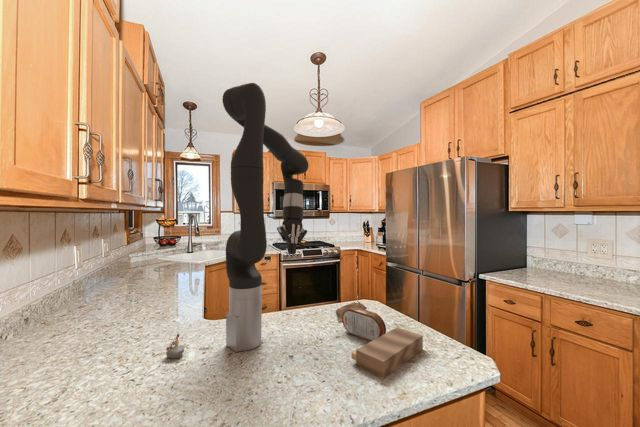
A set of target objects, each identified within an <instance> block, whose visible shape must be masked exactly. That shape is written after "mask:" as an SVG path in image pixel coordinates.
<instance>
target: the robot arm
mask: <svg viewBox="0 0 640 427" xmlns="http://www.w3.org/2000/svg"><path fill="white" fill-rule="evenodd" d="M266 101H267V100H266V96H265V93H264V90H263V89H262V87H261V85H260V84H258V83H256V82H248V83H244V84H240V85H237V86H233V87H230V88H228V89H226V90H225V91H224V92H223V94H222V106H223V108H224V110H225V112H226V113H227V114H228V116H229V117H230V118H231V119H232V120H233V121H235V122H236V124H239V126H241V127H242V128H243V132H242V134H241V138H240V139H239V140H240V141H239V142H238V145H237V146H236V148H235V151H234V153H233V154H232V155H233V156H232V157H231V161H230V185H231V190H232V193H233V197H234V198H235V201H236V205H237V208H238V210H239V211H238V212H239V216H240V230H235V231H233V232H232V233H231V234H230V235H229V236H228V238H227V240H226V245H225V270H226V271H225V272H226V277H227V278H228V290H229V291H228V293H229V294H228V296H229V297H228V303H229V304H228V310H229V311H227V312H226V314H225V321H226V322H225V326H226V327H225V328H226V330H225V334H226V335H225V336H226V337H225V345H226V346H227V347H228V348H229V349H231V350H232V351H234V352H235V353H238V352H242V351H243V352H244V351H250V350H254V349H256V348H258V347H259V346H260V345H261V344H262V336H263V334H262V323H263V322H262V315H263V314H262V304H263V302H262V300H263V299H262V296H263V295H262V293H263V292H262V290H263V289H262V288H263V287H262V285H263V284H262V283H263V282H262V281H263V280H262V275H261V273H260V272H259V270H257V267H256V264H258V263H259V262H260V261H262V260H263V259H264V257H265V255H266V254H267V253H266V252H267V246H268V245H267V243H268V242H267V232H266V223H265V212H264V210H265V209H264V207H265V206H264V146H265V147H266V149H267V150H268V151H269V152H270V154H272V156H274V158H276V160H278V162H280V171H281V174H282V180H283V184H284V187H283V188H284V191H283V192H284V194H283V200H282V203H283V204H282V219H283V221H282V224H281V225H280V226H278V227H277V228H276V231H277V232H278V234H279V236H280V238H281V240H282V241H283V242H285V243H287V253H288V255H296V253H297V244H298V243H301V242H302V241H303V240H304V239H305V236H306V235H307V233H308V230H307V229H305V228H304V226H303V223H302V222H303V220H304V184H303V181H302V180H300V179H297V178H293V177H294V176H297V175H302V174H305V173H306V172H307V171H308V169H309V161H308V158H307V157H306V156H305V155H304V154H303V153H302V152H300V151H299V150H297V149H296V148H294V146H292V145H291V144H290V142H289V141H288V139H287V138H286V137H285V136H284V135H283V134H282V133H281V132H279V130H277V129H275V128H273V127H272V126H270V125H269V124H267V123H265V122H266V114H267V113H266V112H267V110H266V109H267V106H266V104H267V102H266Z"/></svg>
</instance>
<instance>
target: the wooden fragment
mask: <svg viewBox="0 0 640 427" xmlns="http://www.w3.org/2000/svg"><path fill="white" fill-rule="evenodd" d="M356 301H357V302H358V303H355V302H356ZM356 301H353V302H351V303H348V304H346V305H343V306H341V307H340V308H337V309H336V310H335V312H336V317H337V323H339V324H340V323H342V324H343V321H342V315H343V312H344V311H345V310H347V309H348V308H350V307H357V308H361V309H364V310H367V306H365V305H364V304H363V303H361V301H359V300H356Z"/></svg>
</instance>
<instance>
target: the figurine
mask: <svg viewBox="0 0 640 427" xmlns="http://www.w3.org/2000/svg"><path fill="white" fill-rule="evenodd" d="M179 338H180V333H176V337H175V338H174V339H173V340H172V342H170V343H167V344H166V345H168V346H167V347H166V349H165V350H166V353H165V354H166V358H168V359H172V360H173V359H180V358H182V357H183V354H184V353H185V345H179V344H180V343H179V342H180V341H179Z"/></svg>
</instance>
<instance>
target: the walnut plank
mask: <svg viewBox="0 0 640 427" xmlns="http://www.w3.org/2000/svg"><path fill="white" fill-rule="evenodd" d="M423 337H424V336H423V334H419V333H416V332H414V331H413V332H412V331H410V330H408V329H404V328H401V327H399V326H398V327H397V326H396V327H395V328H393V329H391V330H389V331H386V334H384V335H382V336H380V337H378V338H377V339H375V340H373V341H371V342H370V341H369V342H367V343H366V344H364V345H362V346H360V347H359V348H357V349H355V350H354V351H352V352H350V353H351V359H352V360H354V361H355V366H356V367H358V366H359V367H358V368H360V367H361V368H360V369H362V370H364V371H366V372H367V373H368V372H369V373H370V374H372V375H374V376H376V377H378V378H381V379H382V380H385V379H386V378H387V377H388V376H389V375H391V374H393V373H394V372H395V371H396V370H397V369H399V368H401V366H403V365H404V364H406V363H407V362H408V361H410V360H411V359H412V358H414V357H415V356H416V355H417V354H419V353H420V352H422V351H423V349H424V347H423V346H424V345H423V344H424V342H423V341H424V340H423V339H424V338H423Z"/></svg>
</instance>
